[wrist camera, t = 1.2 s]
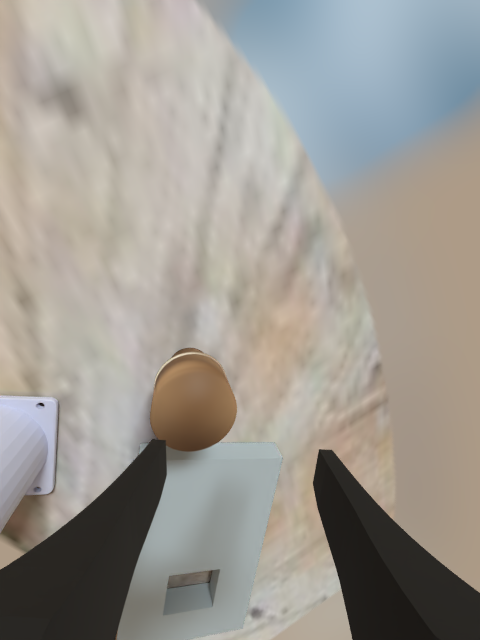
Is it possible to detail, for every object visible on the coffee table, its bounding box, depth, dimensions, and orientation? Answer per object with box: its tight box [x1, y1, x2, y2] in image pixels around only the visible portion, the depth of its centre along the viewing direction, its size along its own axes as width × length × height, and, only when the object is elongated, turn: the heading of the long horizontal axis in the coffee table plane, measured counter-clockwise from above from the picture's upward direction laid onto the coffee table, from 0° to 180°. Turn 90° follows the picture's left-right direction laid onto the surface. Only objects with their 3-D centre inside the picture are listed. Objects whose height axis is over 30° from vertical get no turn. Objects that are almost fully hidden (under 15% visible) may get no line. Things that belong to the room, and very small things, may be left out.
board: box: [117, 443, 283, 640], centre depth 24 cm, size 12×20×2 cm, turn 171°
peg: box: [150, 348, 237, 452], centre depth 18 cm, size 5×5×7 cm
